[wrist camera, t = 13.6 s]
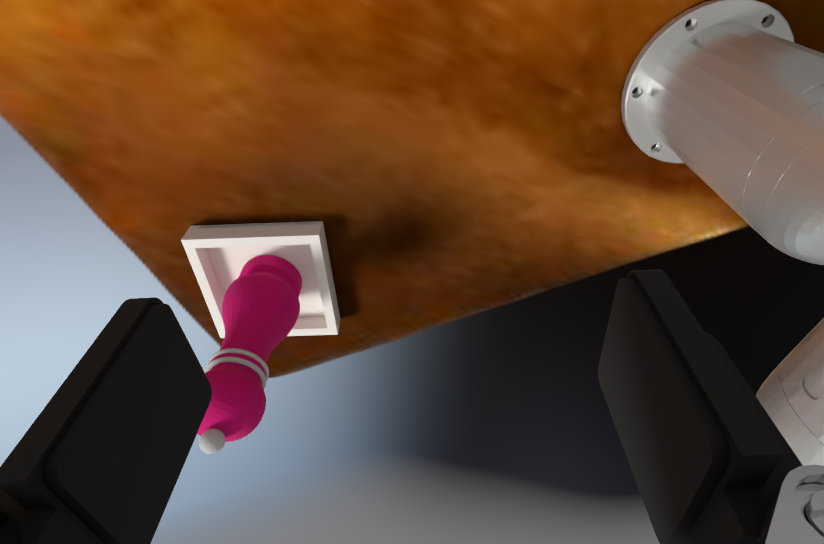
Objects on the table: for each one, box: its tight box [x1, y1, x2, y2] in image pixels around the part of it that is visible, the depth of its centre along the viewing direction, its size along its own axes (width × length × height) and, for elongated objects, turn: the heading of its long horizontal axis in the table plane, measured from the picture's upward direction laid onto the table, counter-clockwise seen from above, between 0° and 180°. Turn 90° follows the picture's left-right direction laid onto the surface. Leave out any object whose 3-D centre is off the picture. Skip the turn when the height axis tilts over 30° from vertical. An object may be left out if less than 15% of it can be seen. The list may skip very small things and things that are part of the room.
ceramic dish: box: [181, 221, 340, 338], centre depth 50 cm, size 13×13×2 cm
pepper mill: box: [197, 255, 302, 454], centre depth 42 cm, size 7×7×20 cm
